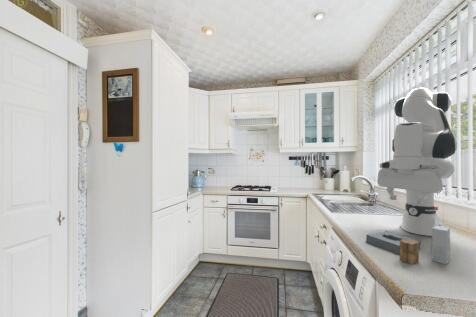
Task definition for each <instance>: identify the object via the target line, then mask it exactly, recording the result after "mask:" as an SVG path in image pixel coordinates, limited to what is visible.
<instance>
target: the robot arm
mask: <svg viewBox="0 0 476 317" xmlns="http://www.w3.org/2000/svg"><path fill="white" fill-rule="evenodd" d="M451 104H452V98H451V96H450V95H449V93H448V92H446V91H437V92H432V91H431V90H429V88H426V87H418V88H413V89H412V90H411V91H409V92H408V93H407V95H406V96H404V97H401V98H399V99H397V100H396V101H395V103H394V105H393V110H394V114H395V116H396V117H397V118H403V120H405V121H406V122H400V123H397V124H396V127H395V130H394V136H393V137H394V138H393V139H392V144H391V148H392V149H391V150H392V152H393V155H392V159H390V160H387V161H384V162H380V163H379V170H378V174H377V185H378V187H380V188H381V187H382V188H386V191H387V193H388V194H389V200H392V201H396V200H397V195H396V194H395V192H394V190H395V189H398V190H399V189H400V190H405V192H406V194H405V195H406V203H405V206H404V207H405V211H404V212H403V213H402V221H401V224H399V227H400V228H401V229H402V230H403V231H406V232H408V233H411V234H415V235H421V236H427V237H432V228H433V227H434V226H441V227H444V221H443V219H442V218H440V216H438V215H437V211H438V210H439V207H438V206H437V205H435V199H434V198H435V194H440V193H441V192H443V180H446V179H450V178H451V176H452V175H453V174H454V173H455V165H454V164H453V162H452V161H451V160H449V159H448V158H449V157H451V156H453V155H454V154H455V153H456V151H457V146H458V143H457V142H458V141H457V139H456V137H455V136H454V134H453V132H452V130H451V127H450V124H449V121H448V118H447V116H446V114H445V113H446V112H448V110H449V109H450V106H451Z"/></svg>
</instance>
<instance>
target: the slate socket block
mask: <svg viewBox="0 0 476 317" xmlns="http://www.w3.org/2000/svg"><path fill="white" fill-rule="evenodd" d="M365 238H366V239H365V241H366V243H369V244H371V245H374V246H377V247H379V248H382V249H385V250H388V251H390V252H393V253H395V252H396V253H395V254H399V255H400V240H405V239H408V240H414V241H416V242H418V243H419V250H421V241H420V240H418V239H413V238H411V237H407V236H403V235H401V234H397V233H394V232H391V231H387V230H384V231H381V232H380V231H379V232H374V233H369V234H366V236H365Z"/></svg>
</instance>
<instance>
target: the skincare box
mask: <svg viewBox="0 0 476 317" xmlns="http://www.w3.org/2000/svg"><path fill="white" fill-rule="evenodd" d="M450 236H451V228H450V227H445V226H443V227H441V226H434V227H433V228H432V236H431V260H432V261H434V262H437V263H441V264H445V265H447V264H448V263H449V261H450V260H451V255H450V254H451V249H450V248H451V246H450V245H451V237H450Z"/></svg>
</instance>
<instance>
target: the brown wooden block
mask: <svg viewBox="0 0 476 317" xmlns="http://www.w3.org/2000/svg"><path fill="white" fill-rule="evenodd" d="M414 240H415V239H414ZM414 240H408V239H405V240H400V254H399V260H400V261H402V262H403V263H404V264H405V263H409V264H411V265H413V264H417V263H420V262H419V257H420V254H419V251H420V249H419V243H418V242H416V241H414Z"/></svg>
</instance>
